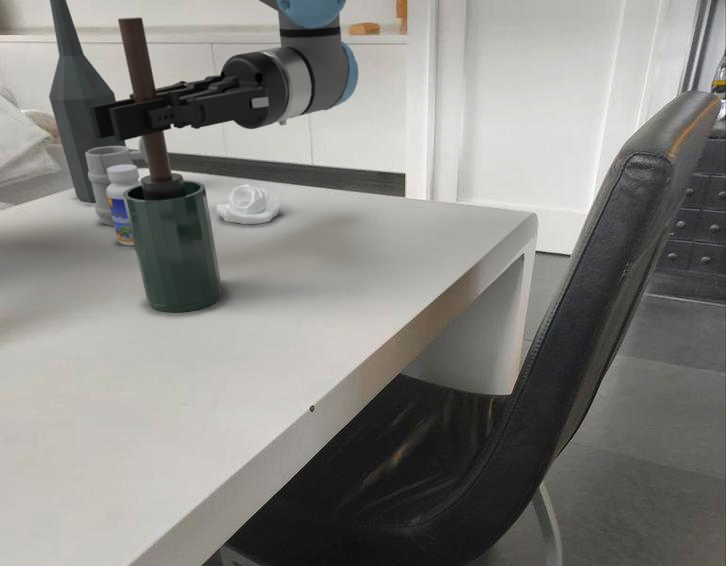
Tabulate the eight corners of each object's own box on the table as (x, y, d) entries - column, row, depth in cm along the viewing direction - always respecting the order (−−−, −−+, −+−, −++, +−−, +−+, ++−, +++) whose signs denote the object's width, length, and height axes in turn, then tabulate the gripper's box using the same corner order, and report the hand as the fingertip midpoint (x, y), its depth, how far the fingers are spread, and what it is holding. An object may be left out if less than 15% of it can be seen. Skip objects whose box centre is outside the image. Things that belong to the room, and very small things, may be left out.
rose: (275, 174, 108) (284, 190, 100) (278, 204, 110) (287, 221, 103) (211, 180, 106) (215, 197, 98) (216, 210, 109) (220, 228, 101)
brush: (144, 239, 75) (95, 20, 63) (168, 227, 78) (125, 16, 66) (178, 243, 74) (134, 19, 62) (200, 231, 77) (163, 16, 65)
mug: (103, 213, 110) (82, 130, 102) (178, 209, 110) (162, 126, 103) (93, 228, 104) (69, 141, 96) (171, 223, 104) (154, 136, 97)
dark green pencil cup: (133, 307, 79) (105, 198, 71) (176, 280, 85) (155, 177, 78) (196, 316, 76) (174, 204, 69) (236, 288, 82) (220, 182, 75)
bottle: (141, 186, 123) (96, -22, 105) (131, 201, 115) (80, -20, 97) (83, 189, 122) (27, -18, 104) (69, 204, 115) (6, -17, 96)
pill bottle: (110, 242, 98) (91, 169, 92) (139, 232, 101) (123, 161, 95) (136, 248, 95) (118, 174, 89) (165, 237, 99) (150, 165, 93)
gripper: (318, 128, 79) (169, 174, 64) (221, 119, 86) (65, 158, 71) (313, 53, 75) (151, 82, 59) (211, 49, 82) (42, 75, 66)
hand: (105, 123), depth 65 cm, fingers closed on brush, 2 cm apart
